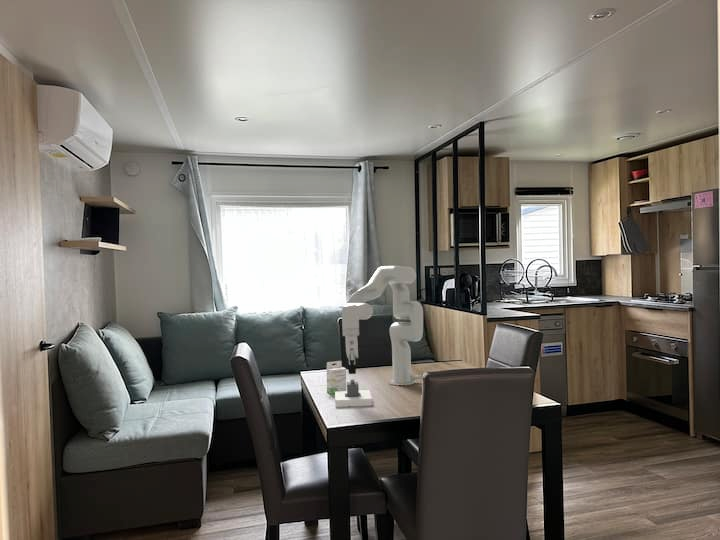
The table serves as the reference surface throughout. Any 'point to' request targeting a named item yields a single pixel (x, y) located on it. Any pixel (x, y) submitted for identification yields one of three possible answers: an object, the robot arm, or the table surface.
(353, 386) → the plug
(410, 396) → the table surface
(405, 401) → the table surface
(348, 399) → the socket
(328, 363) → the ink box
